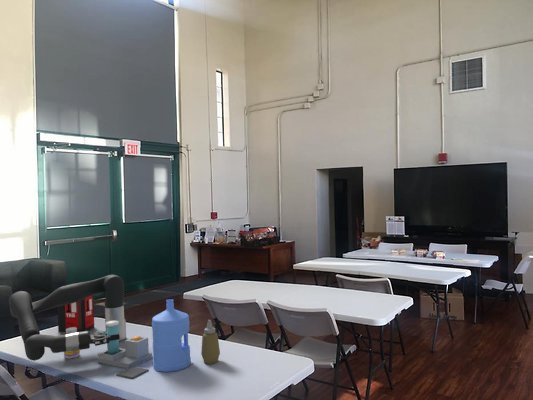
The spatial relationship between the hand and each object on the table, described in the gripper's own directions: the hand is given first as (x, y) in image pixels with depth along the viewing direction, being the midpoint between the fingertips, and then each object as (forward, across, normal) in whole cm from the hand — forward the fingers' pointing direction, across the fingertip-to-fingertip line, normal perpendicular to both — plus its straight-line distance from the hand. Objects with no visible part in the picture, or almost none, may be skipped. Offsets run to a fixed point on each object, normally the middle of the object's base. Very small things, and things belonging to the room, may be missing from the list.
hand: (118, 335), depth 195 cm
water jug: (+20, +19, -11) cm, 30 cm away
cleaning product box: (-19, -63, -11) cm, 67 cm away
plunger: (+7, +3, -6) cm, 10 cm away
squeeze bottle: (+36, +23, -11) cm, 44 cm away
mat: (+4, +19, -11) cm, 23 cm away
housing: (+2, +2, -11) cm, 11 cm away
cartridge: (-3, 0, -8) cm, 8 cm away
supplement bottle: (-20, -16, -11) cm, 28 cm away
